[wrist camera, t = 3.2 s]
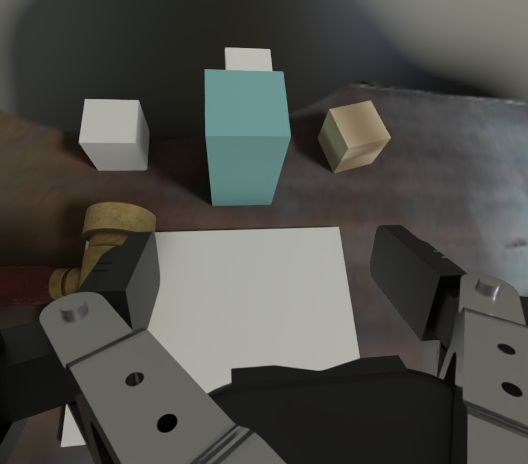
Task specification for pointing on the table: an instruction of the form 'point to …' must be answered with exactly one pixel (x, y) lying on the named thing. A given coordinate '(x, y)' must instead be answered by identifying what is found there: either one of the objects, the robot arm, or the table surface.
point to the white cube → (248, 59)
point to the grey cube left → (115, 134)
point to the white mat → (249, 303)
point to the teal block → (245, 134)
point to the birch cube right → (352, 136)
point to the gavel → (100, 240)
